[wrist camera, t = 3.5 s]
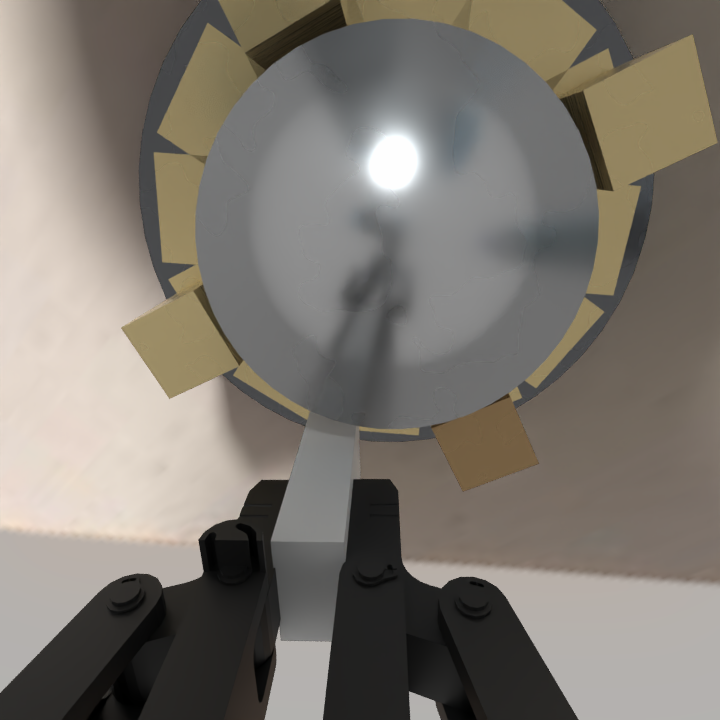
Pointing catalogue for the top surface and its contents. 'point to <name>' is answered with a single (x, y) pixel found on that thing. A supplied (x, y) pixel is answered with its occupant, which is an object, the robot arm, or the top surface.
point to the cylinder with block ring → (490, 20)
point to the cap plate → (394, 220)
